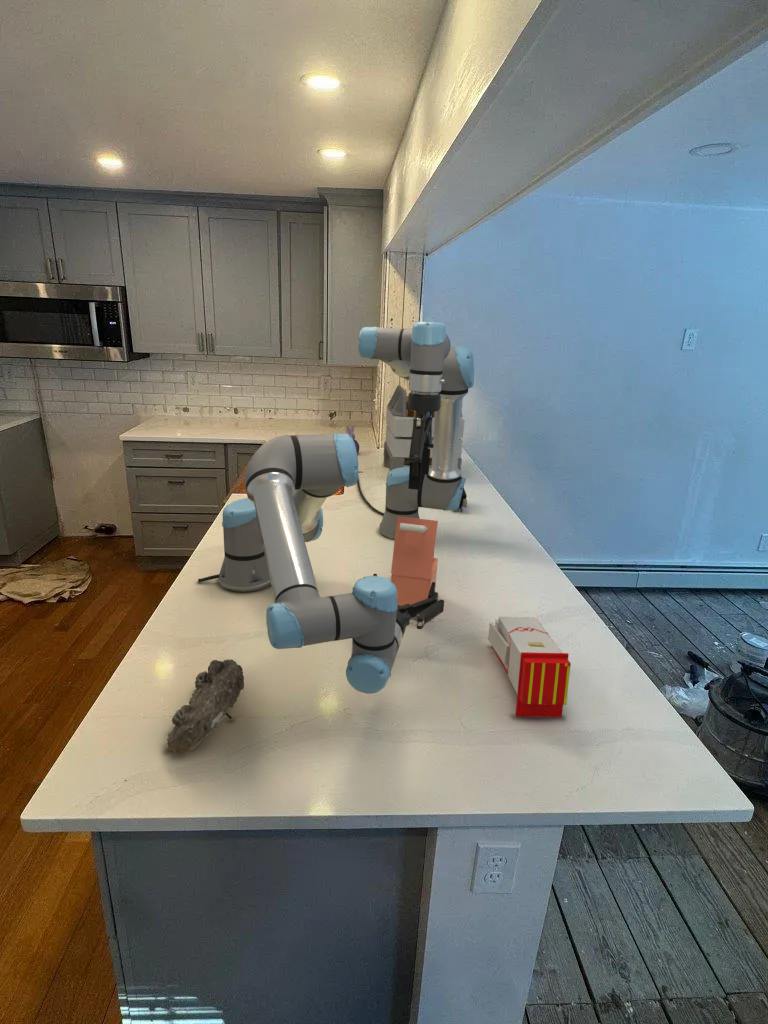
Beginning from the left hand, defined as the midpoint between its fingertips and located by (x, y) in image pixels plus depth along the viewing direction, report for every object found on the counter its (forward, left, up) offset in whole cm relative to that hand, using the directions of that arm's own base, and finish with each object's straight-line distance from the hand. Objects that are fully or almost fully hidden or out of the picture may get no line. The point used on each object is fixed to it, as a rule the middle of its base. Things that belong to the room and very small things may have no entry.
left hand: (404, 583), depth 130 cm
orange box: (0, +15, +3) cm, 15 cm away
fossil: (-30, -36, -16) cm, 49 cm away
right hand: (0, +15, +20) cm, 25 cm away
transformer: (-19, +147, -16) cm, 149 cm away
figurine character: (+4, +103, -16) cm, 104 cm away
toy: (+28, -6, -16) cm, 33 cm away
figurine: (-60, +171, -16) cm, 182 cm away
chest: (0, +19, -16) cm, 24 cm away
